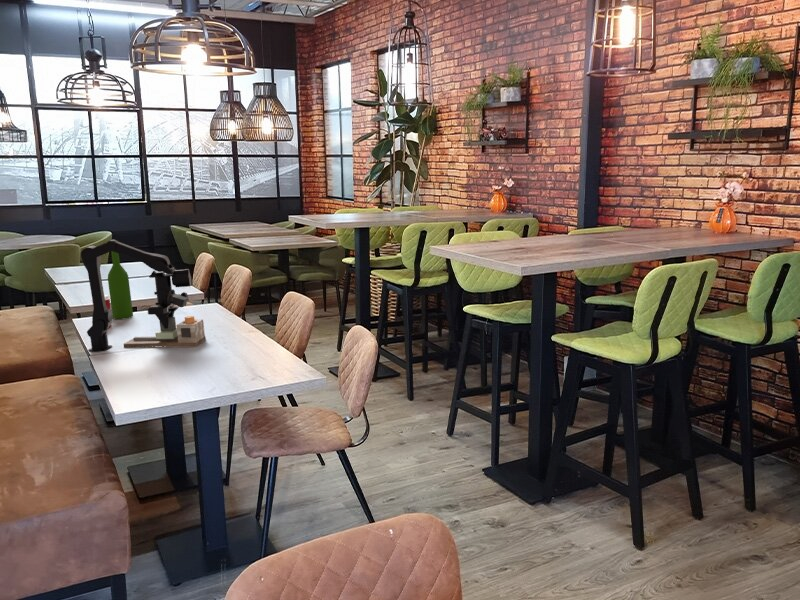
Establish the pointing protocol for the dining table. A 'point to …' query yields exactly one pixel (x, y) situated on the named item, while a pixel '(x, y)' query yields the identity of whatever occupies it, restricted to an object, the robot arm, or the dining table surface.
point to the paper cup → (107, 301)
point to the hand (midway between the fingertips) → (168, 327)
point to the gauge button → (189, 320)
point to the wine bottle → (119, 290)
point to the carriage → (167, 330)
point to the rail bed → (186, 337)
